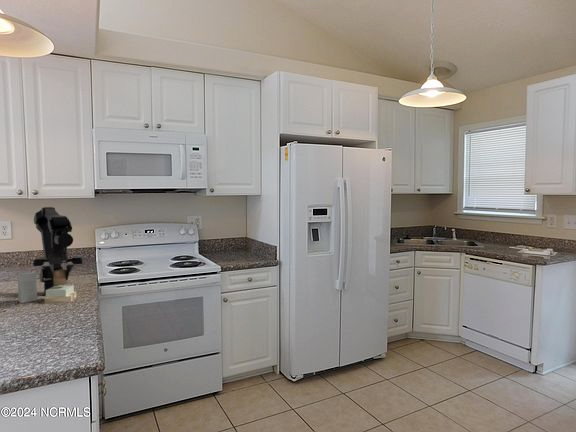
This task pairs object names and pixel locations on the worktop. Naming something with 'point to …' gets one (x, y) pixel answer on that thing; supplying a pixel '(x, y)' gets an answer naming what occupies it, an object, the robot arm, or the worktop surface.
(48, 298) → the maple block
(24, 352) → the worktop surface
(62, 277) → the brown rounded cylinder
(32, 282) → the skincare box
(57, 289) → the sage block
